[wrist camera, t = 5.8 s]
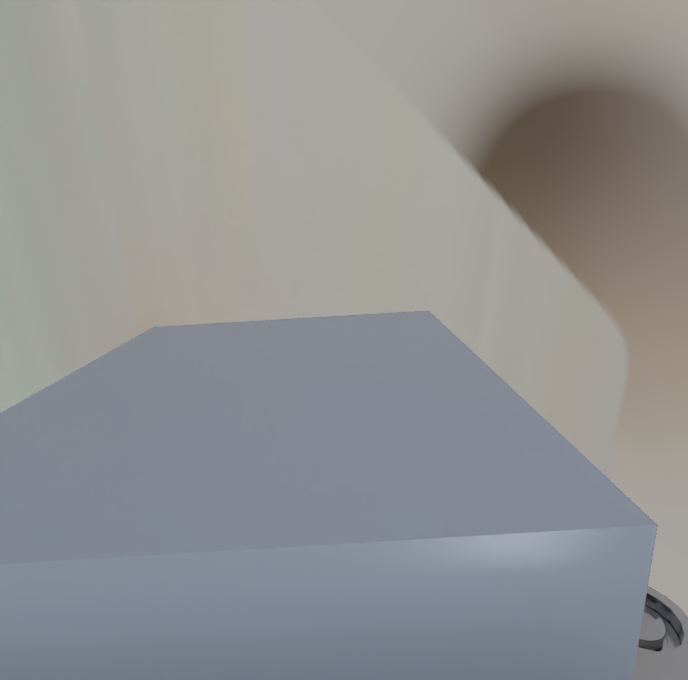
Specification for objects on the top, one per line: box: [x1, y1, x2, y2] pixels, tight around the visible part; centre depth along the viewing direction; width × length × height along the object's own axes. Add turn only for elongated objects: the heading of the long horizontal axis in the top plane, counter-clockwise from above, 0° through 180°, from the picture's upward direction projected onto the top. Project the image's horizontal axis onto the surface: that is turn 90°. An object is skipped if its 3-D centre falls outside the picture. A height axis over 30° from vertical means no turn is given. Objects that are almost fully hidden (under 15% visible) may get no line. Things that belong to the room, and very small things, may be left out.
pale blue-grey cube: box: [0, 311, 658, 680], centre depth 9 cm, size 8×8×9 cm
